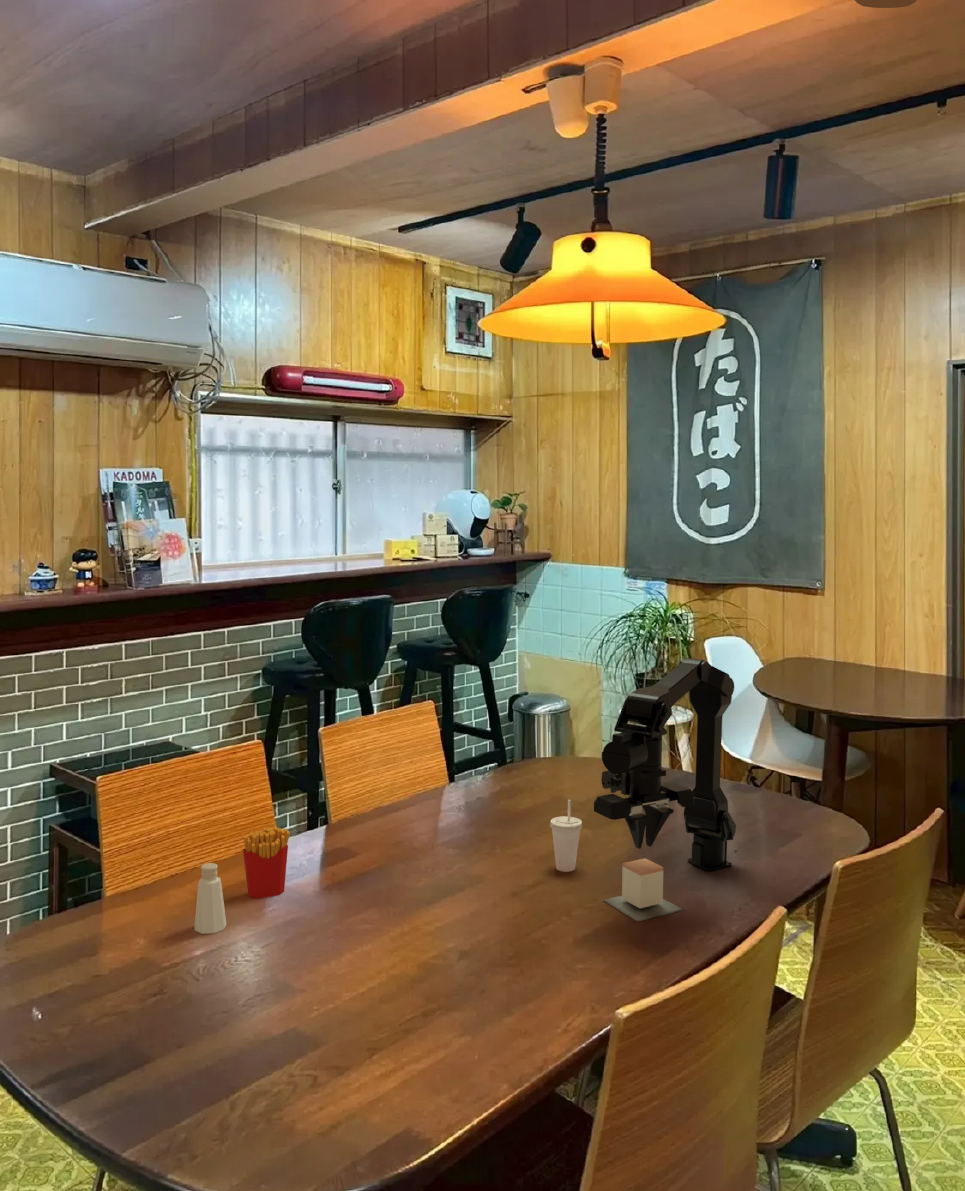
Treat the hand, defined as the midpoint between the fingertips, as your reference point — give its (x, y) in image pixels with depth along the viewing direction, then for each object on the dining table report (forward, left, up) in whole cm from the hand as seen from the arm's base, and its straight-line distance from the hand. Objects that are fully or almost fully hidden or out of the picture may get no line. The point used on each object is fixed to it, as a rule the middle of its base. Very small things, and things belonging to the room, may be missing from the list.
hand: (643, 847), depth 178 cm
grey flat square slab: (0, 0, -11) cm, 11 cm away
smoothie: (+2, -22, -11) cm, 25 cm away
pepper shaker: (+71, -28, -11) cm, 77 cm away
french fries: (+58, -38, -11) cm, 70 cm away
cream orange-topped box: (0, 0, -10) cm, 10 cm away
